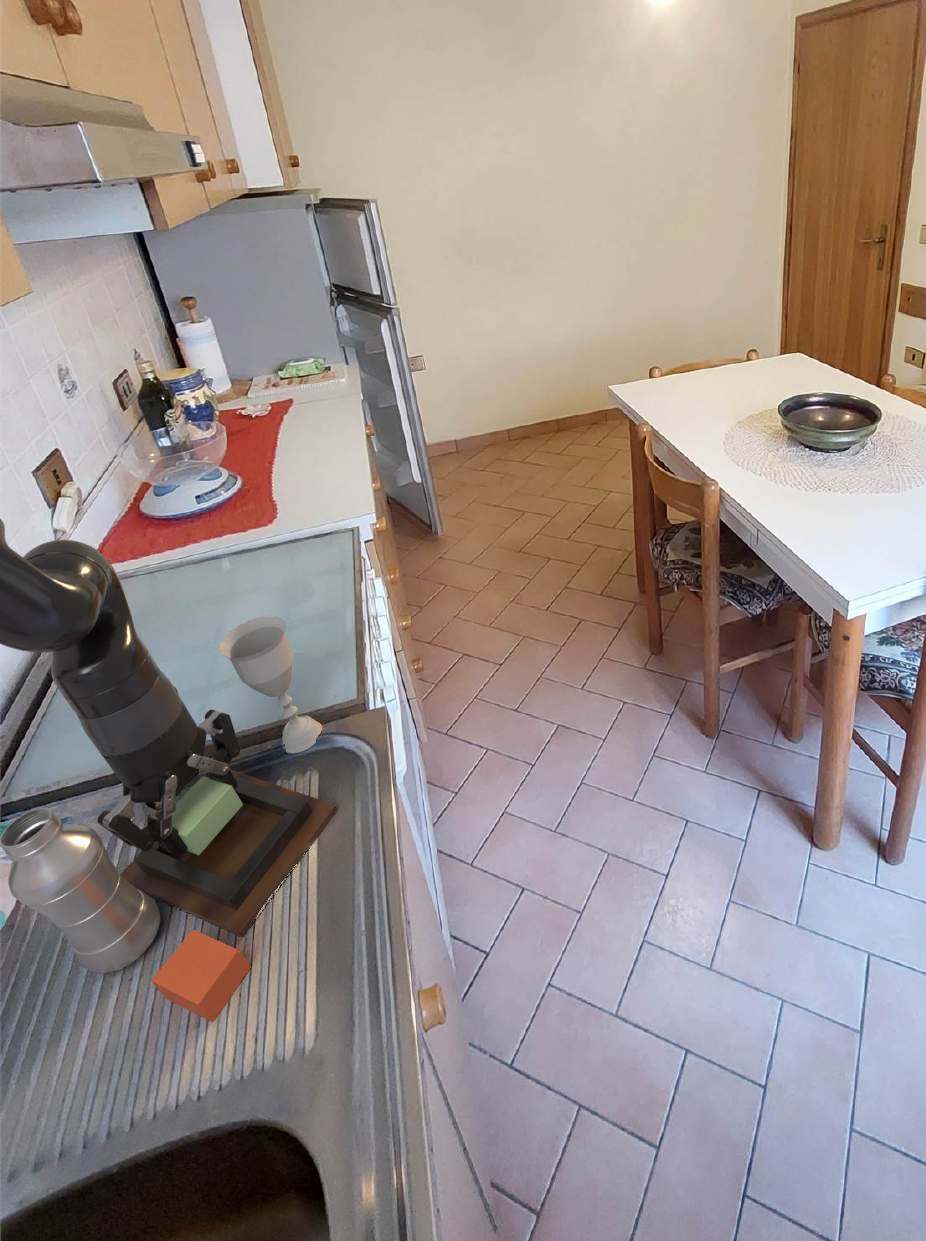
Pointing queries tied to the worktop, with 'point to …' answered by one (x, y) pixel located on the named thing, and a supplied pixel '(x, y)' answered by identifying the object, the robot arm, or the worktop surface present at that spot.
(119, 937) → the metal milk can
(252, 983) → the worktop surface
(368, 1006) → the worktop surface
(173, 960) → the terracotta pad
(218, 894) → the back frame
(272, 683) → the chalice
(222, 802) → the sage pad
